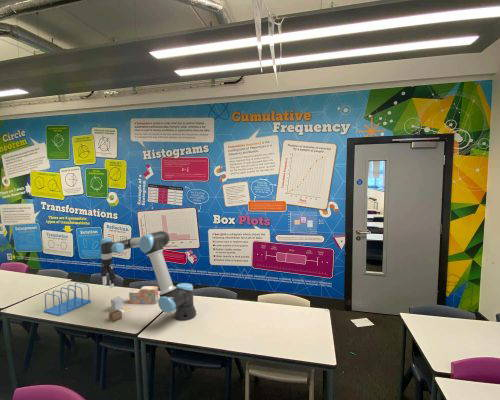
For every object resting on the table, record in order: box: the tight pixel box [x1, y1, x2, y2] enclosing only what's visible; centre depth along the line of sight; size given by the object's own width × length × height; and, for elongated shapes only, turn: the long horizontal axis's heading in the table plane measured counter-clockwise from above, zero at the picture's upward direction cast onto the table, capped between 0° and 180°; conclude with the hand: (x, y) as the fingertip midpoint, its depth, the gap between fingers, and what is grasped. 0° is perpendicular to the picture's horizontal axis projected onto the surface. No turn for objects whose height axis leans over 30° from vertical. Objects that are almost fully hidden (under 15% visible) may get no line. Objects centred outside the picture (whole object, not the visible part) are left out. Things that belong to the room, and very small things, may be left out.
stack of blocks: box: [128, 285, 159, 305], centre depth 215 cm, size 21×6×12 cm, turn 87°
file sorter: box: [43, 281, 92, 317], centre depth 207 cm, size 25×17×15 cm
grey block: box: [110, 296, 124, 311], centre depth 204 cm, size 6×6×8 cm
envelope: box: [108, 303, 135, 313], centre depth 201 cm, size 16×16×1 cm
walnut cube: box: [108, 309, 123, 323], centre depth 188 cm, size 6×6×6 cm
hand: (108, 286), depth 210 cm, fingers open, 10 cm apart
